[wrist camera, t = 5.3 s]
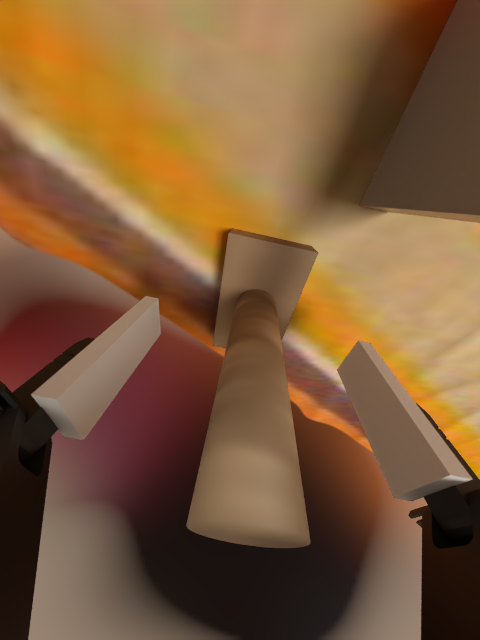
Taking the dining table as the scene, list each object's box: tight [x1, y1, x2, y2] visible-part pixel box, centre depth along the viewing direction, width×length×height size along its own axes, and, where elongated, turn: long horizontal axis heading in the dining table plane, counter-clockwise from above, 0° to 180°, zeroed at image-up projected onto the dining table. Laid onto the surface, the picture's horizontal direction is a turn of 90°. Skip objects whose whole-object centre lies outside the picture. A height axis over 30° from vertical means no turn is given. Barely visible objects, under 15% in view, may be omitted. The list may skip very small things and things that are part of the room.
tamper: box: [187, 228, 318, 548], centre depth 11 cm, size 6×10×14 cm, turn 169°
